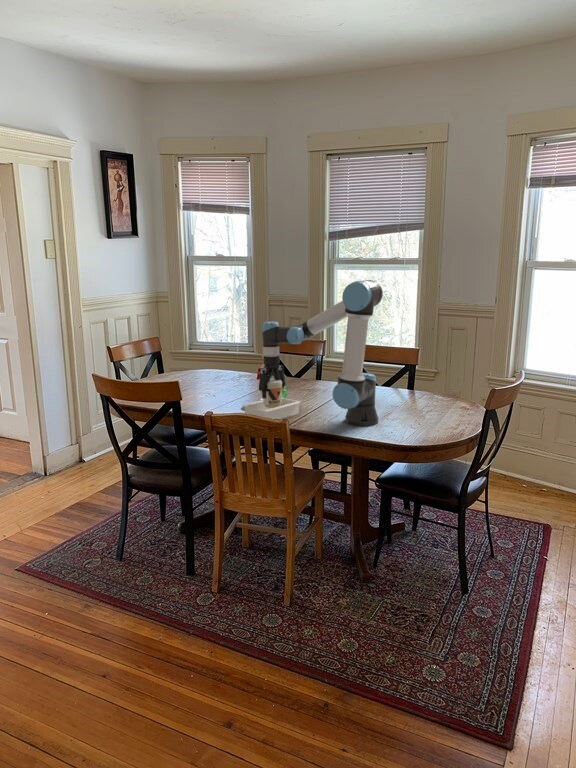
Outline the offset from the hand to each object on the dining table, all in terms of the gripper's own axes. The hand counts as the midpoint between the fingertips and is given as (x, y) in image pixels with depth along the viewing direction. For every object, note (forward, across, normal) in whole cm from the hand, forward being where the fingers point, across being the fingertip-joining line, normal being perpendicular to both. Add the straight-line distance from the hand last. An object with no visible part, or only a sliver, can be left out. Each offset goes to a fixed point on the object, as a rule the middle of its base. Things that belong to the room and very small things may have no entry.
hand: (272, 402), depth 270 cm
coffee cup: (+2, 0, 0) cm, 2 cm away
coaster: (+6, -2, -17) cm, 18 cm away
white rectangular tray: (+6, 0, -1) cm, 6 cm away
